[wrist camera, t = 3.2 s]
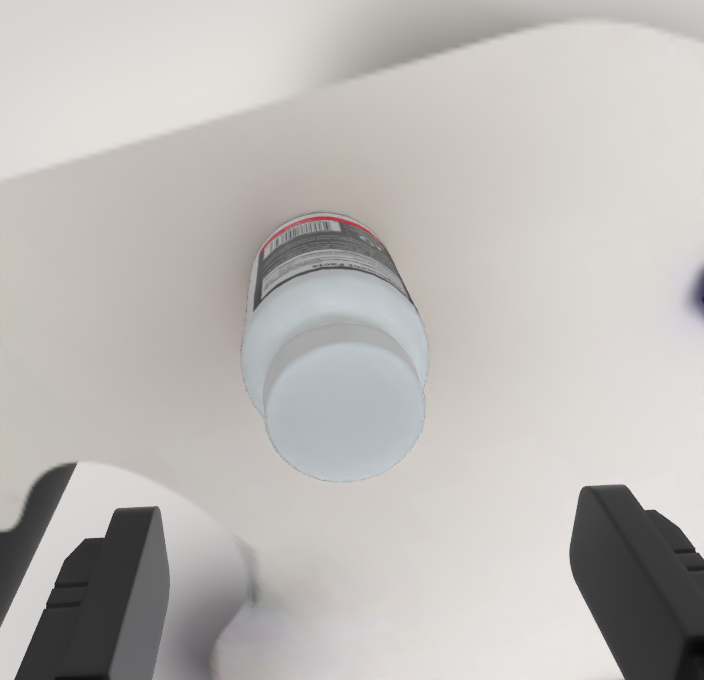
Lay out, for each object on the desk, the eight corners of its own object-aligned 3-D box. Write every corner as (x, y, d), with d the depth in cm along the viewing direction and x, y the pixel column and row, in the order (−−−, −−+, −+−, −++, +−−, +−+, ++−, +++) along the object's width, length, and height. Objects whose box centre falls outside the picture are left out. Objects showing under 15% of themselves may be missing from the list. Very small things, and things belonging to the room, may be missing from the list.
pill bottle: (369, 359, 27) (411, 523, 18) (235, 327, 26) (210, 485, 17) (413, 231, 25) (486, 345, 16) (270, 191, 24) (263, 289, 15)
